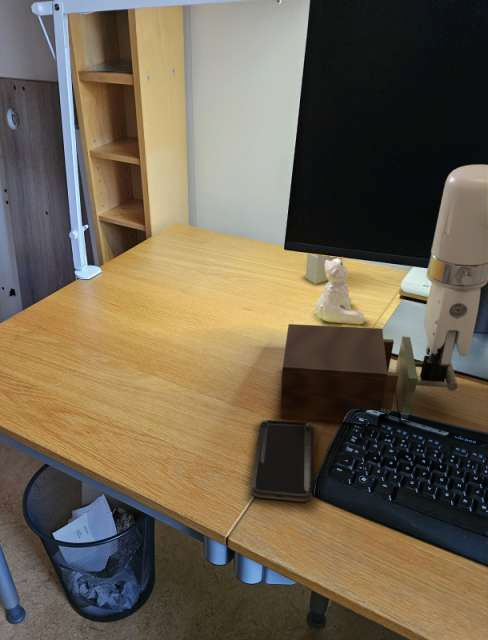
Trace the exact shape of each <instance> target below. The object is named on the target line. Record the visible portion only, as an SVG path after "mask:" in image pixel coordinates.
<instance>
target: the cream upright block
mask: <svg viewBox="0 0 488 640" xmlns="http://www.w3.org/2000/svg"><path fill="white" fill-rule="evenodd" d="M333 259H337V257H330V256H322V255H313V254H307V253H306V265H305V266H306V268H305V279H307V280H308V281H310V282H312V283H313V284H315V285H317V284H320V283H324V282H328V281H329V280H328V278H327V277H326V272H325V267H324V265H325V261H326V260H329V261H332V260H333ZM339 259H341V260H342V261H343V257H342V258H339Z"/></svg>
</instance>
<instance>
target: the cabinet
mask: <svg viewBox="0 0 488 640" xmlns="http://www.w3.org/2000/svg"><path fill="white" fill-rule="evenodd" d="M383 330H384V329H383V328H376V327H357V326H337V325H319V324H317V325H316V324H315V325H314V324H298V323H297V324H296V323H288V325H287V331H286V332H287V333H286V340H285V346H284V351H283V359H282V367H281V386H280V408H279V419H287V420H298V421H299V420H300V421H313V422H324V423H325V422H326V423H336V424H343V423H342V422H343V420H344V417H345V416H346V414H347V413H348V412H349V411H350V410H352V409H362V410H381V407H382V401H383V396H384V390H385V385H386V380H387V374H388V373H387V365H386V356H385V347H384V339H385V338H384V331H383Z"/></svg>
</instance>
